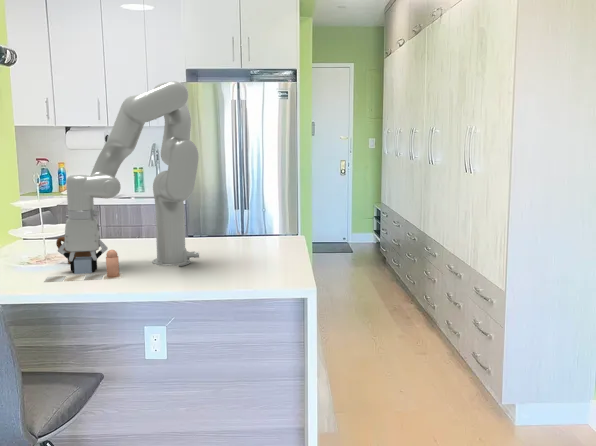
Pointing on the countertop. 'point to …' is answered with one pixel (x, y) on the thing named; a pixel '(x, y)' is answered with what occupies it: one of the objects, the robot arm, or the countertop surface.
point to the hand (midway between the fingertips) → (84, 271)
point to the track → (80, 277)
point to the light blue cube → (83, 265)
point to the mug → (77, 254)
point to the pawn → (112, 264)
